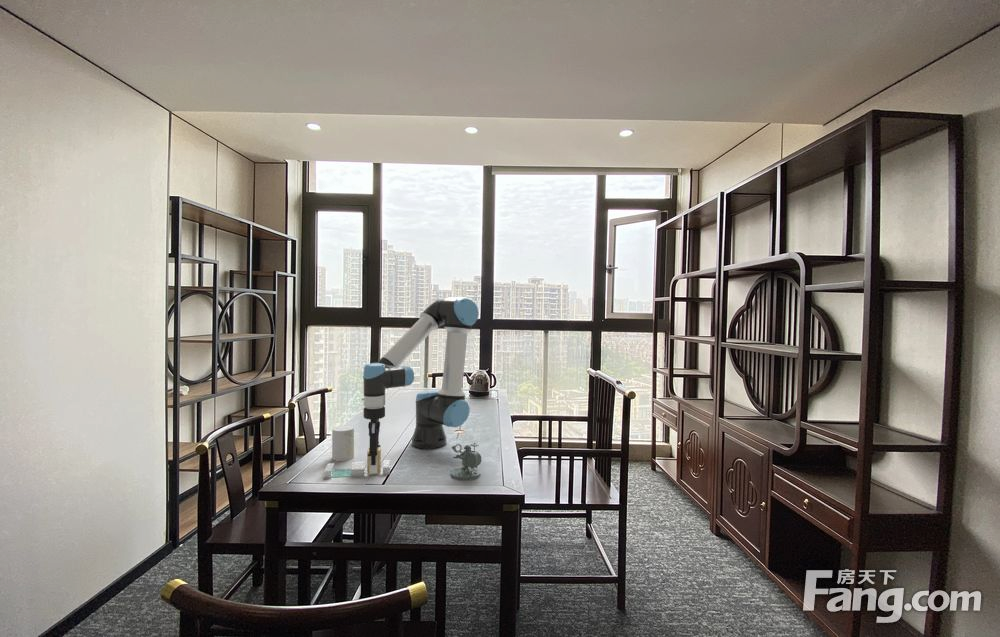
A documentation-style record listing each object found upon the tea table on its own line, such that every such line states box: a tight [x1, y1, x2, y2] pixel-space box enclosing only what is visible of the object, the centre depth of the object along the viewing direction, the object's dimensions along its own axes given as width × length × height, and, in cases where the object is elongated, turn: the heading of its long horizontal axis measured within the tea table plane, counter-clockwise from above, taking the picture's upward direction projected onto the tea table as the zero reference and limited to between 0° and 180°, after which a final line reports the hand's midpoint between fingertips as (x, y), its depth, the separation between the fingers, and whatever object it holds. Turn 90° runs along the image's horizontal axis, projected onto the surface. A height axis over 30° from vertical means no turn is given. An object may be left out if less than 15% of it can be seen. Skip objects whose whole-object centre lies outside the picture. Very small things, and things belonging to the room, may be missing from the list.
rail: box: [323, 459, 391, 480], centre depth 162 cm, size 22×8×3 cm, turn 102°
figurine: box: [450, 442, 482, 481], centre depth 162 cm, size 11×11×12 cm
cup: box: [331, 425, 355, 462], centre depth 178 cm, size 8×8×12 cm
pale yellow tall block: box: [366, 446, 382, 474], centre depth 163 cm, size 4×4×8 cm
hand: (374, 469), depth 164 cm, fingers open, 7 cm apart
